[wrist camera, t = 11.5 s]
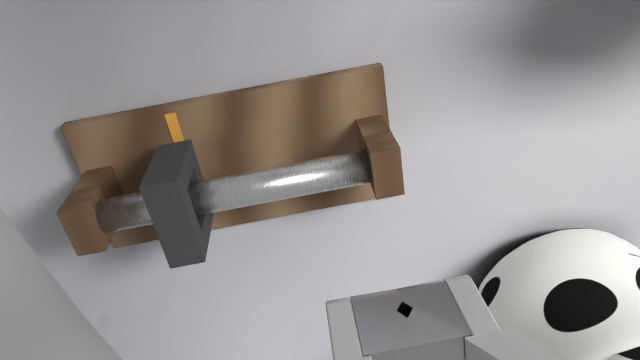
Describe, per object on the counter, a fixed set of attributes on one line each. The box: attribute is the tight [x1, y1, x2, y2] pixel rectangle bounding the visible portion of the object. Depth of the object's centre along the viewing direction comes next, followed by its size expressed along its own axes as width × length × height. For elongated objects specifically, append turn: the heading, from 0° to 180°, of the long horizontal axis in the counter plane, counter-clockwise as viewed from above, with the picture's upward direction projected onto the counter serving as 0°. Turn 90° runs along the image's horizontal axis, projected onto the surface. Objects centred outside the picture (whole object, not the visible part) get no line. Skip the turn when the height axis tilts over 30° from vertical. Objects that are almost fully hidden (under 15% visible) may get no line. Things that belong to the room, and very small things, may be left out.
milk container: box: [478, 228, 640, 360], centre depth 42 cm, size 17×17×18 cm
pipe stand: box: [57, 63, 405, 256], centre depth 37 cm, size 24×11×7 cm, turn 100°
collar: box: [139, 139, 214, 268], centre depth 36 cm, size 2×6×6 cm, turn 10°
